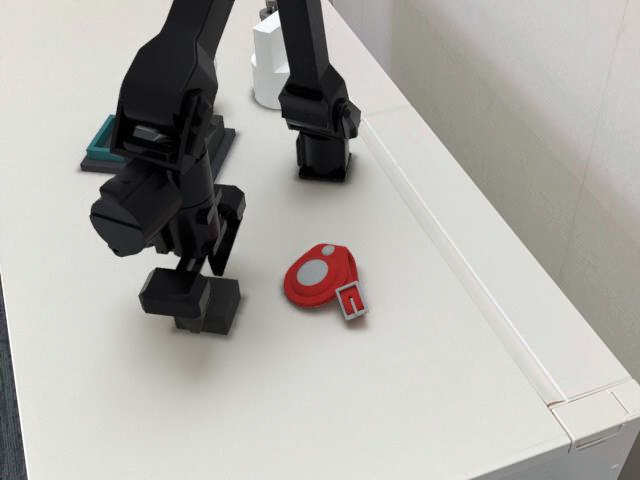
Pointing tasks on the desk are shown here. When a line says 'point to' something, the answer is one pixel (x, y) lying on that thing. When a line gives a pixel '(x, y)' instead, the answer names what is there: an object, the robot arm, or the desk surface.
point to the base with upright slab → (269, 62)
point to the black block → (219, 306)
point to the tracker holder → (326, 280)
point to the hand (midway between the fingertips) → (207, 302)
